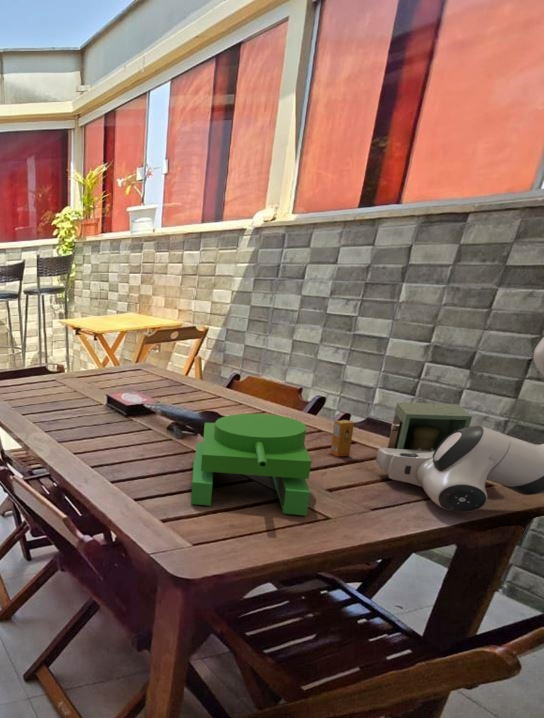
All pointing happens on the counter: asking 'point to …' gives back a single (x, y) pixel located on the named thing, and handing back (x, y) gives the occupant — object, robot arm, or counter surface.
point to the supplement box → (342, 438)
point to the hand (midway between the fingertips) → (423, 450)
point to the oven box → (426, 421)
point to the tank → (255, 456)
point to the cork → (423, 437)
